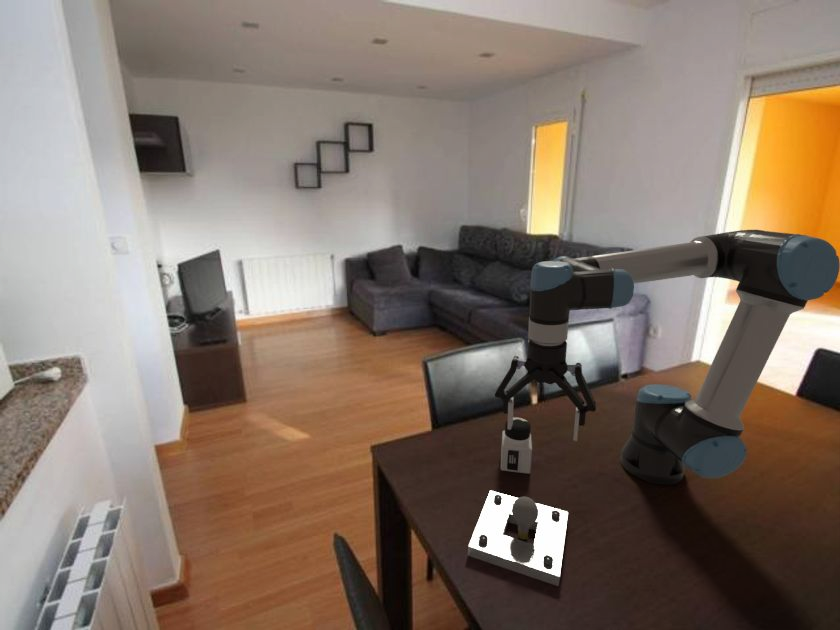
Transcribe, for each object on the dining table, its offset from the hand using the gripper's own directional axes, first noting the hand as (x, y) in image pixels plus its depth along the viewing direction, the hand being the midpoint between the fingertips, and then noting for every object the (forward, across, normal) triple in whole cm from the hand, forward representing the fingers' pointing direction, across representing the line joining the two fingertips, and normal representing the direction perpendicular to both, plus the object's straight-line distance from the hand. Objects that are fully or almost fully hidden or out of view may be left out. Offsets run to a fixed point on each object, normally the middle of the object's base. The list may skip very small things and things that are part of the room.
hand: (541, 431), depth 92 cm
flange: (+22, +3, +8) cm, 23 cm away
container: (+22, +8, -17) cm, 29 cm away
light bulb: (+22, +2, +8) cm, 24 cm away
